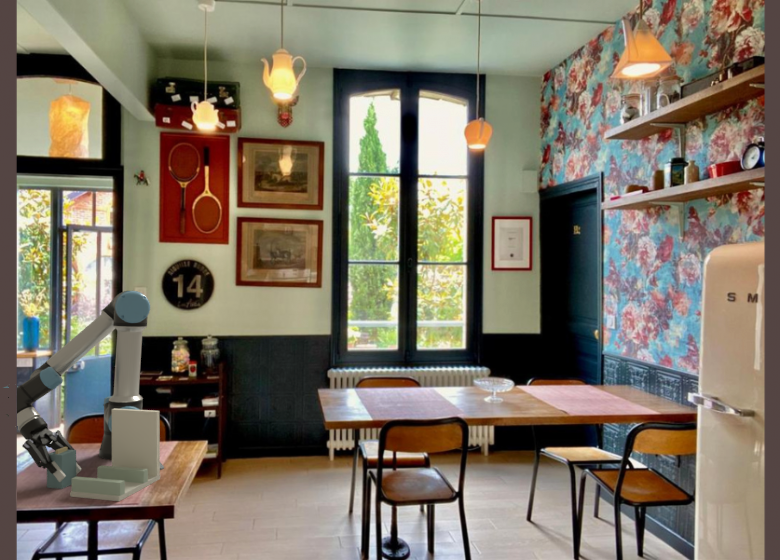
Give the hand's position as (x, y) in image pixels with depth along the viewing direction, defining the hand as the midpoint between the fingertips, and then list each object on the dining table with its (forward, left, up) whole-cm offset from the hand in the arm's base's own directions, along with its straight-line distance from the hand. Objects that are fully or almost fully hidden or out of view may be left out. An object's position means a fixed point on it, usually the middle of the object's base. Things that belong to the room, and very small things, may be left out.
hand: (70, 475), depth 184 cm
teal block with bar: (0, -4, -3) cm, 5 cm away
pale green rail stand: (-2, +16, -3) cm, 17 cm away
